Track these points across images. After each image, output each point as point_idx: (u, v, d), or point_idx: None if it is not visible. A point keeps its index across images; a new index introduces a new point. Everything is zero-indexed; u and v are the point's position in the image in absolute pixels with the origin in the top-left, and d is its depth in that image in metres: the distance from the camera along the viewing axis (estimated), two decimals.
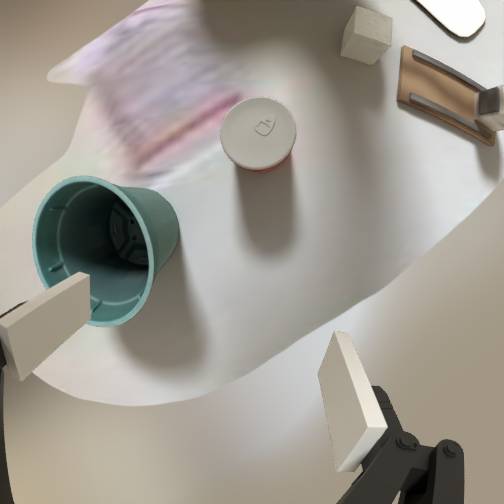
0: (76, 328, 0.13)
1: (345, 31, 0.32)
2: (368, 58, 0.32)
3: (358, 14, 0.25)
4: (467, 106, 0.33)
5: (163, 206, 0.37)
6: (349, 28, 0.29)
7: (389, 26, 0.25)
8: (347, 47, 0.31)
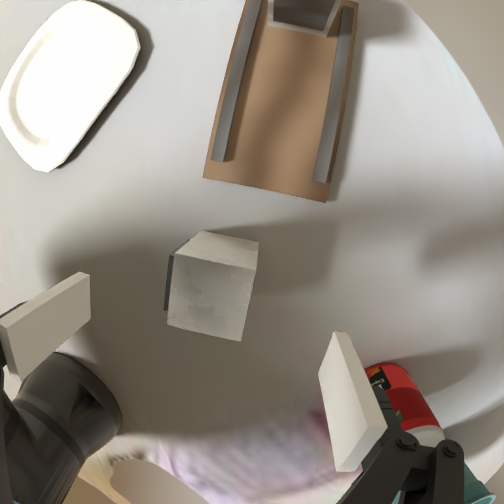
0: (76, 328, 0.13)
1: None
2: None
3: (190, 326, 0.18)
4: (303, 47, 0.20)
5: None
6: None
7: (203, 265, 0.17)
8: None
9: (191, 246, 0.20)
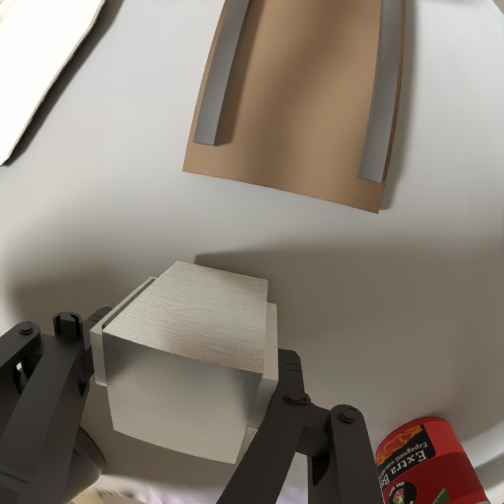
0: None
1: None
2: None
3: (149, 438, 0.09)
4: None
5: None
6: None
7: (155, 358, 0.08)
8: None
9: (143, 305, 0.10)
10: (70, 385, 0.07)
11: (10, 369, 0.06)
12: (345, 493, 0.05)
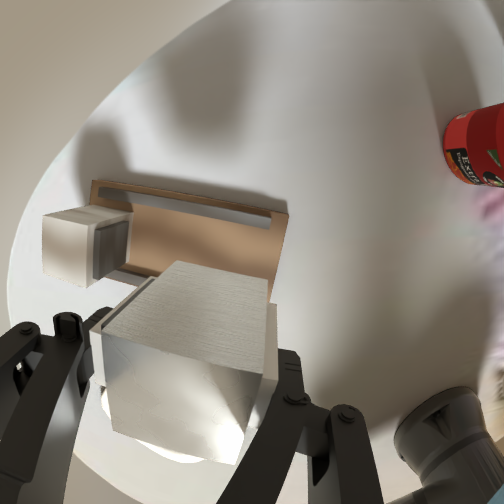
0: None
1: None
2: None
3: (149, 438, 0.09)
4: (146, 232, 0.27)
5: None
6: None
7: (154, 358, 0.08)
8: None
9: (142, 305, 0.10)
10: (70, 385, 0.07)
11: (10, 369, 0.06)
12: (345, 493, 0.05)
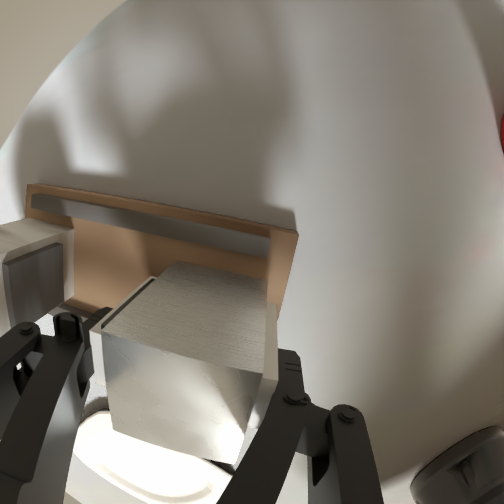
0: None
1: None
2: None
3: (149, 438, 0.09)
4: (91, 257, 0.18)
5: None
6: None
7: (154, 358, 0.08)
8: None
9: (142, 305, 0.10)
10: (70, 385, 0.07)
11: (10, 369, 0.06)
12: (345, 493, 0.05)
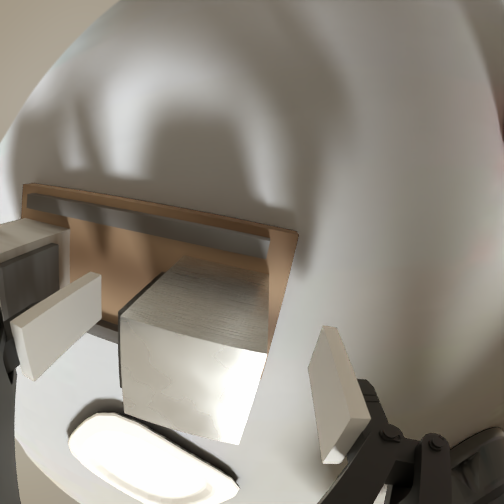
0: (88, 328, 0.13)
1: None
2: None
3: (158, 420, 0.10)
4: (87, 258, 0.17)
5: None
6: None
7: (170, 340, 0.09)
8: None
9: (156, 294, 0.11)
10: (0, 370, 0.06)
11: None
12: None
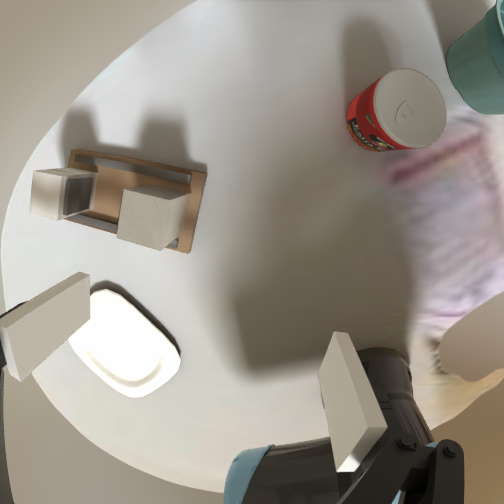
0: (76, 328, 0.13)
1: None
2: (185, 204, 0.32)
3: (130, 238, 0.27)
4: (105, 187, 0.34)
5: (468, 81, 0.24)
6: None
7: (139, 196, 0.26)
8: (175, 236, 0.32)
9: (137, 188, 0.28)
10: None
11: None
12: None
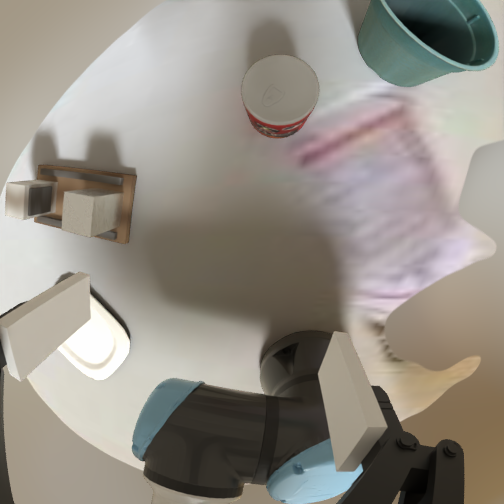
0: (76, 328, 0.13)
1: None
2: (116, 202, 0.37)
3: (70, 229, 0.32)
4: (63, 193, 0.39)
5: (373, 55, 0.29)
6: None
7: (74, 196, 0.31)
8: (108, 228, 0.36)
9: (77, 190, 0.33)
10: None
11: None
12: None
